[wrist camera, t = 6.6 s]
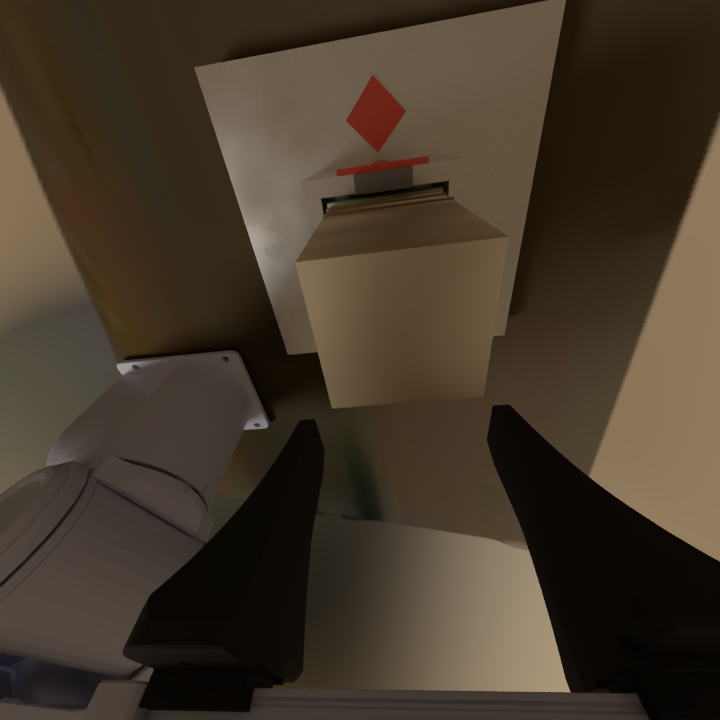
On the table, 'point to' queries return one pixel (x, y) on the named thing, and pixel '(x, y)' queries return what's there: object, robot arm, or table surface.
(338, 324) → the post
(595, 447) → the table surface
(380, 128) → the jack base
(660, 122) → the table surface
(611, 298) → the table surface
